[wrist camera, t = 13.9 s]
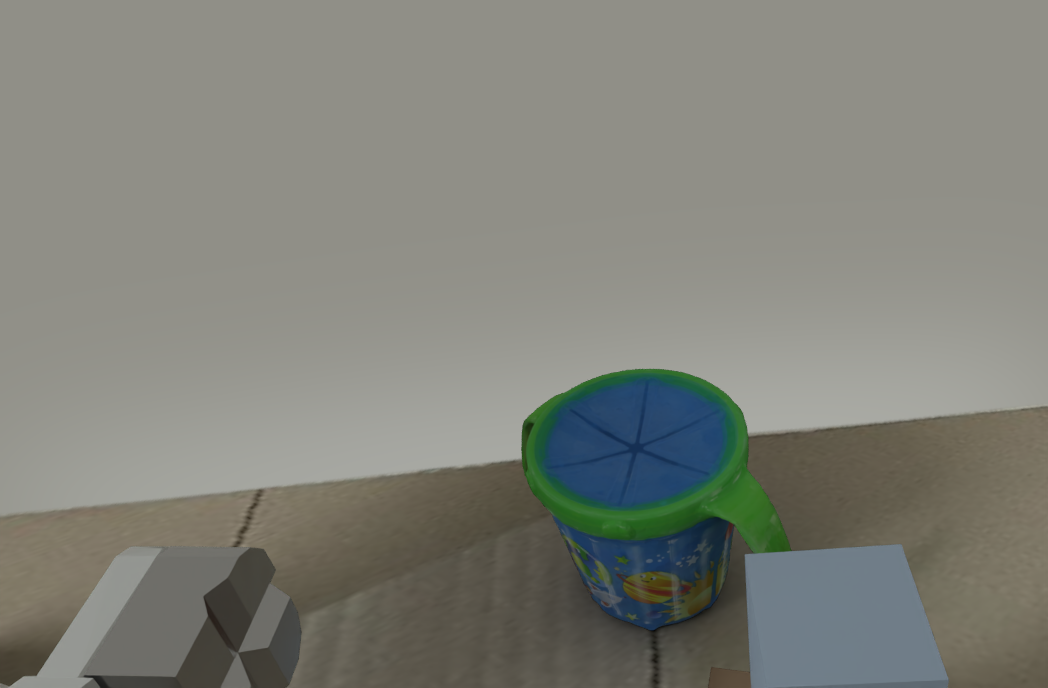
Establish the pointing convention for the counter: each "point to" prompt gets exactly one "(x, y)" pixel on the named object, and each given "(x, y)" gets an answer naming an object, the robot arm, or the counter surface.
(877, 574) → the pillar
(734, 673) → the walnut base
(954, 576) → the counter surface
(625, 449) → the snack cup
